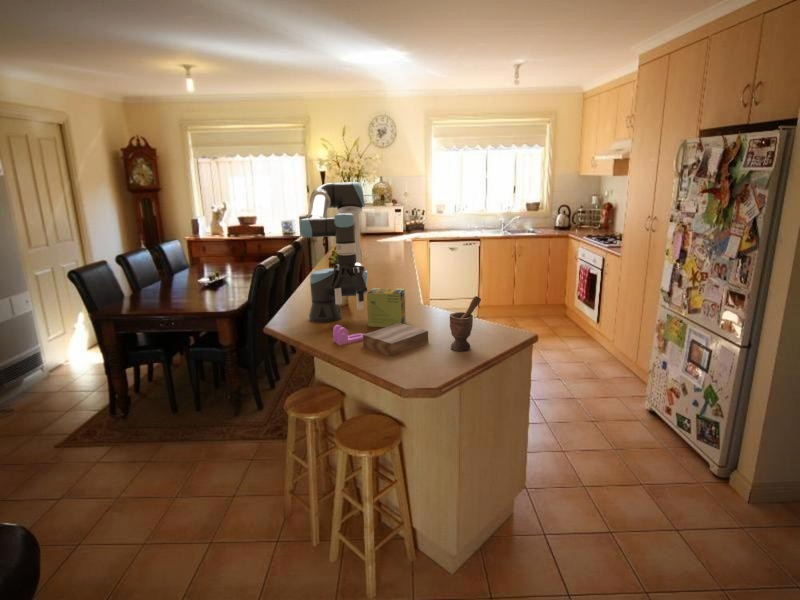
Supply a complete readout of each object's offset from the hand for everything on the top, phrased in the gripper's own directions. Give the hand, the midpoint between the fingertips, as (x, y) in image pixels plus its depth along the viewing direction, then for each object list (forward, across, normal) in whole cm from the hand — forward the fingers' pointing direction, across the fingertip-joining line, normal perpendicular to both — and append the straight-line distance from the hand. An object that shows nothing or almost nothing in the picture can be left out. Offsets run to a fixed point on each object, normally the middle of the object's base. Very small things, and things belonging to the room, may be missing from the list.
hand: (349, 306), depth 190 cm
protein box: (+14, -5, +25) cm, 30 cm away
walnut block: (+14, +18, +8) cm, 24 cm away
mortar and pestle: (+15, +40, +23) cm, 48 cm away
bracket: (+15, 0, 0) cm, 15 cm away
